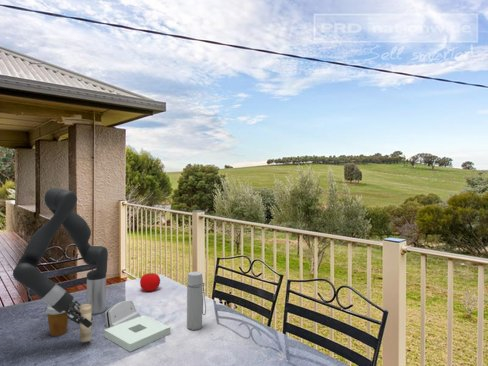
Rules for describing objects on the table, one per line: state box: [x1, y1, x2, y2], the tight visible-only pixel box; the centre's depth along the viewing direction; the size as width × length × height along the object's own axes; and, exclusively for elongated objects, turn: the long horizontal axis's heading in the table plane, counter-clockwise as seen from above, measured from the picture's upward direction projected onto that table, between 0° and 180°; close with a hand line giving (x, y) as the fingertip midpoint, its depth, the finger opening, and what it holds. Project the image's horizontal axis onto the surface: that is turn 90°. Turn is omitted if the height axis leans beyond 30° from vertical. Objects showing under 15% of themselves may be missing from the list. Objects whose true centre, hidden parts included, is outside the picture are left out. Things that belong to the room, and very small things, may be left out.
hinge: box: [104, 300, 140, 329], centre depth 158 cm, size 17×5×10 cm, turn 156°
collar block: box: [103, 315, 171, 353], centre depth 144 cm, size 20×20×3 cm
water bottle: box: [186, 271, 207, 331], centre depth 152 cm, size 9×8×25 cm
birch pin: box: [79, 303, 92, 343], centre depth 136 cm, size 4×4×14 cm
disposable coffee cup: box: [45, 305, 69, 337], centre depth 146 cm, size 10×10×12 cm
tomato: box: [139, 272, 161, 292], centre depth 203 cm, size 12×12×10 cm
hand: (90, 323), depth 137 cm, fingers closed on birch pin, 4 cm apart
